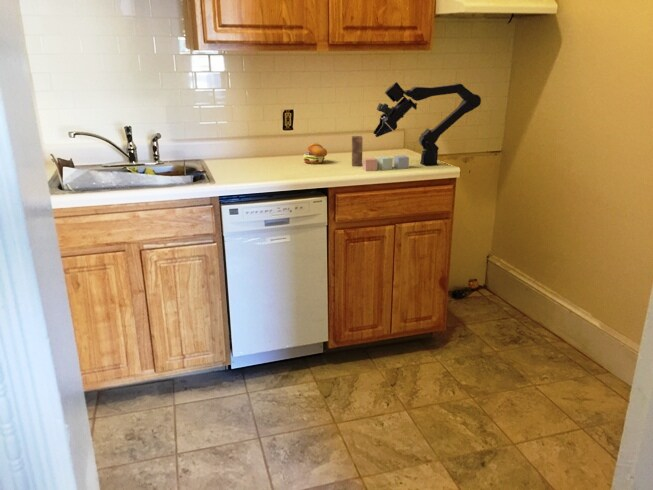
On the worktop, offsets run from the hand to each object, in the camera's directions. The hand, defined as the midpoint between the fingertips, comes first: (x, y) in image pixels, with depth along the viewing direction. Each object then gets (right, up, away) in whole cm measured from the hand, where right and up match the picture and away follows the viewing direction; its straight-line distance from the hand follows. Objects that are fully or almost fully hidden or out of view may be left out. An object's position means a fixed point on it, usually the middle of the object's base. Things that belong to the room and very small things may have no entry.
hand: (374, 135), depth 246 cm
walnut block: (-8, -13, +4) cm, 16 cm away
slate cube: (+12, -15, -1) cm, 19 cm away
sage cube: (+4, -16, -3) cm, 16 cm away
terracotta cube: (-3, -16, -5) cm, 17 cm away
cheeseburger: (-27, -11, +12) cm, 31 cm away
